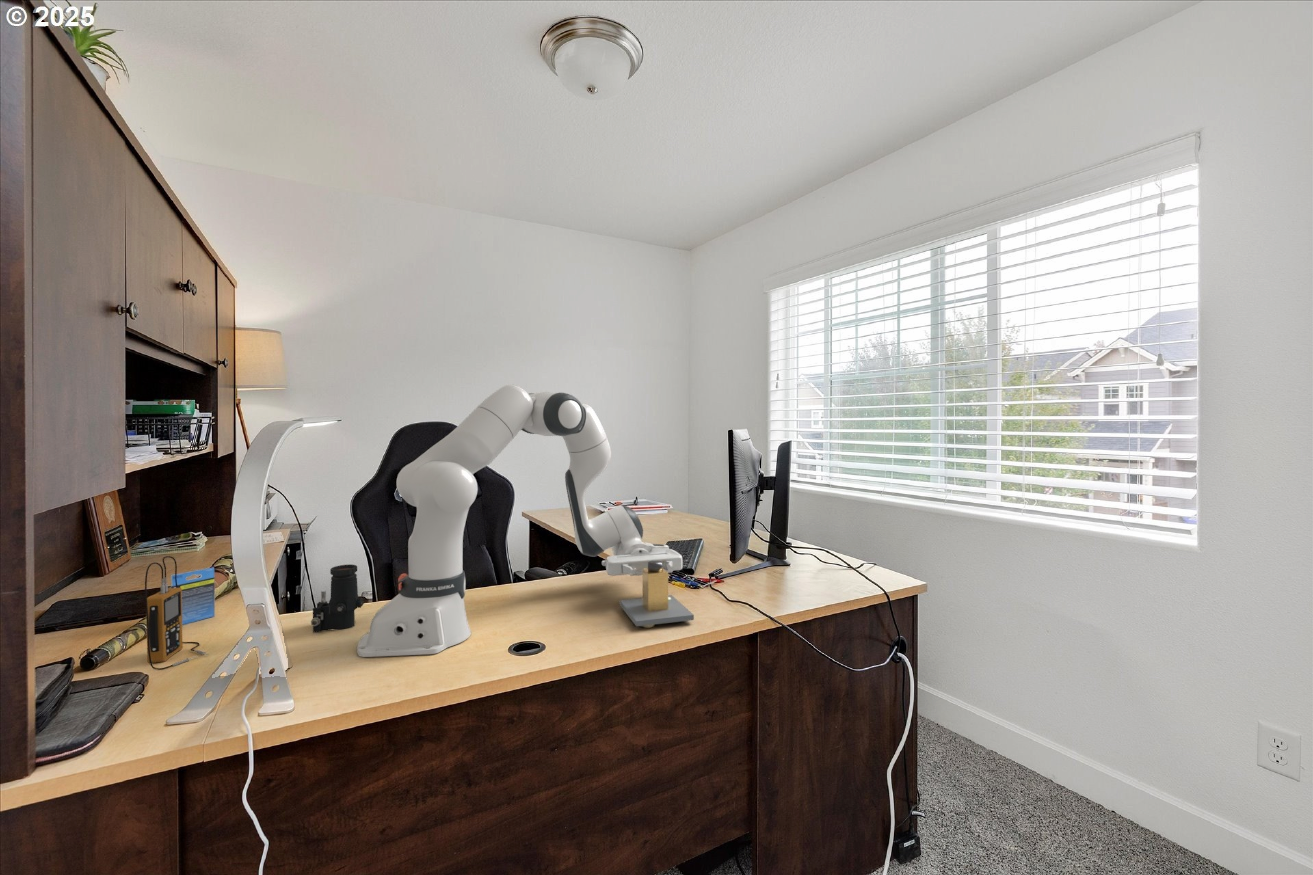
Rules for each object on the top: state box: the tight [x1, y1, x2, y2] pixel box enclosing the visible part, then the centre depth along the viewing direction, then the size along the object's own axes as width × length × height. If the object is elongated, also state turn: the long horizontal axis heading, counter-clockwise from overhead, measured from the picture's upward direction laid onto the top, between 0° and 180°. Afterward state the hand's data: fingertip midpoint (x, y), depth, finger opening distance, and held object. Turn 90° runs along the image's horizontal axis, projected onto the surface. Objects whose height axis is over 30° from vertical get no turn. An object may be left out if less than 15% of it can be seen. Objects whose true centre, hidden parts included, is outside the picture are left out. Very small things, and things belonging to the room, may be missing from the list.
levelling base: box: [619, 594, 695, 628], centre depth 136 cm, size 14×16×2 cm
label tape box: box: [168, 566, 216, 626], centre depth 133 cm, size 9×4×12 cm, turn 154°
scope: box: [310, 564, 364, 634], centre depth 129 cm, size 8×14×10 cm
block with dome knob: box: [641, 561, 669, 611], centre depth 136 cm, size 5×5×11 cm
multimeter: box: [144, 555, 210, 671], centre depth 114 cm, size 15×10×20 cm
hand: (652, 570), depth 139 cm, fingers open, 8 cm apart
